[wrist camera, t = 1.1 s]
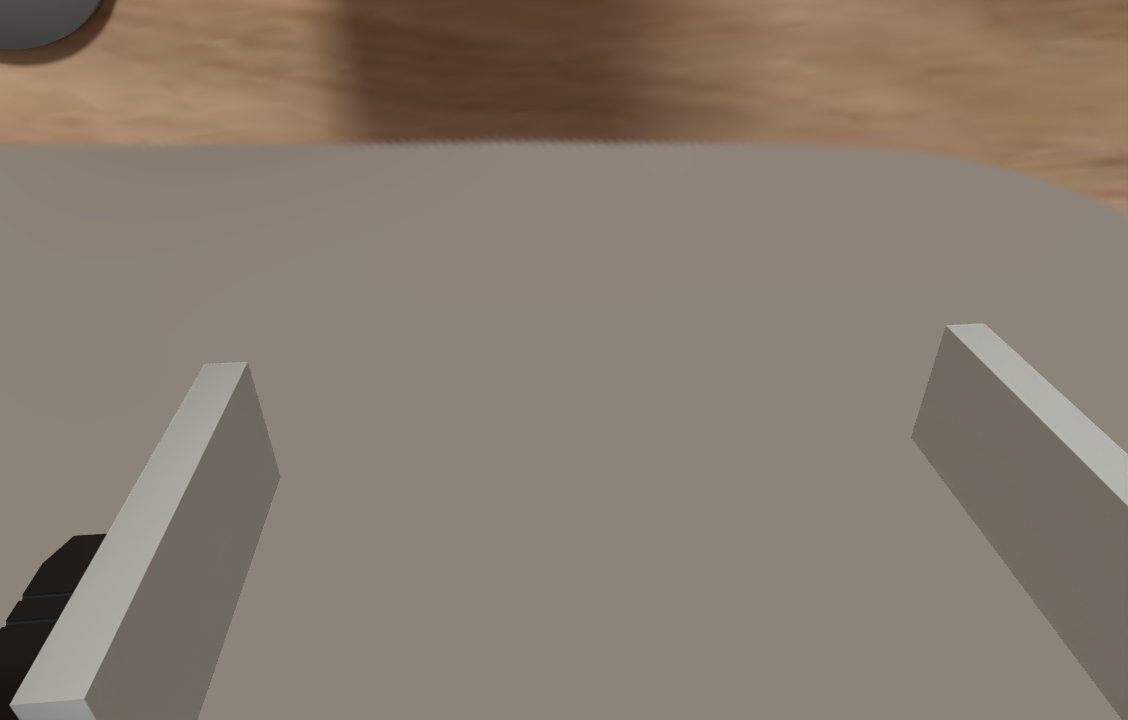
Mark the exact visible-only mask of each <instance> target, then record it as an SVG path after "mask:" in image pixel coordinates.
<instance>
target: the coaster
mask: <svg viewBox="0 0 1128 720" xmlns="http://www.w3.org/2000/svg"><path fill="white" fill-rule="evenodd" d="M102 2H103V0H0V49H2V50H20V49H30V48H35V47H39V46H44V45H47V44H49V43H52V42H54V41H57V40H60V39H62V38H65V37H67V36H68V35H70V34H72V33H73V32H75V31H77V30H78V29H80V28H81V27H82V26H83V25H84V24H85V23H86V22H88V21H89V20H90V19H91V17H92V16H93V15H94V14H95V12H96V11H97V10H98V9H99V7H100V5H101V4H102Z"/></svg>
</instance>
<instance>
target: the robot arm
mask: <svg viewBox="0 0 1128 720" xmlns="http://www.w3.org/2000/svg"><path fill="white" fill-rule="evenodd" d="M911 438H912V439H913V441H914V442H915V443H916V445H917V446H918V447H919V449H920V450H921V451H922V453H923V454H924V455H925V457H926V458H927V459H928V461H929V462H930V463H931V465H932V466H933V467H934V469H935V470H936V471H937V473H938V474H939V475H940V477H941V478H942V479H943V481H944V482H945V483H946V485H947V486H948V487H949V489H950V490H951V491H952V493H953V494H954V495H955V497H956V498H957V499H958V501H959V502H960V504H961V505H962V506H963V508H964V509H965V510H966V511H967V513H968V514H969V516H970V517H971V518H972V520H973V521H974V522H975V524H976V525H977V526H978V528H979V529H980V530H981V531H982V533H983V534H984V535H985V537H986V538H987V540H988V541H989V542H990V544H991V545H992V546H993V548H994V549H995V550H996V551H997V553H998V554H999V556H1000V557H1001V558H1002V560H1003V561H1004V562H1005V564H1006V565H1007V566H1008V568H1009V569H1010V570H1011V572H1012V573H1013V574H1014V576H1015V577H1016V578H1017V580H1018V581H1019V582H1020V584H1021V585H1022V586H1023V588H1024V589H1025V590H1026V592H1027V593H1028V594H1029V596H1030V597H1031V599H1032V600H1033V601H1034V603H1035V604H1036V605H1037V606H1038V608H1039V609H1040V611H1041V612H1042V613H1043V614H1044V616H1045V617H1046V619H1047V620H1048V621H1049V623H1050V624H1051V625H1052V627H1053V628H1054V629H1055V630H1056V632H1057V633H1058V635H1059V636H1060V637H1061V639H1062V640H1063V641H1064V643H1065V644H1066V645H1067V647H1068V648H1069V649H1070V651H1071V652H1072V653H1073V655H1074V656H1075V657H1076V659H1077V660H1078V661H1079V663H1080V664H1081V665H1082V667H1083V668H1084V669H1085V671H1086V672H1087V673H1088V675H1089V676H1090V677H1091V679H1092V680H1093V681H1094V683H1095V684H1096V685H1097V687H1098V688H1099V689H1100V691H1101V692H1102V693H1103V695H1104V696H1105V698H1106V699H1107V700H1108V702H1109V703H1110V704H1111V706H1112V707H1113V708H1114V710H1115V711H1116V712H1117V714H1118V715H1119V716H1120V717H1121V719H1122V720H1128V454H1127V453H1125V452H1124V451H1123V450H1122V449H1121V448H1120V447H1119V446H1118V445H1117V444H1116V443H1114V442H1113V441H1112V440H1111V439H1110V438H1109V437H1108V436H1107V435H1106V434H1105V433H1104V432H1102V431H1101V430H1100V429H1099V428H1098V427H1097V426H1096V425H1095V424H1094V423H1092V422H1091V421H1090V420H1089V419H1088V418H1087V417H1086V416H1085V415H1084V414H1083V413H1082V412H1081V411H1079V410H1078V409H1077V408H1076V407H1075V406H1074V405H1073V404H1072V403H1071V402H1069V401H1068V400H1067V399H1066V398H1065V397H1064V396H1063V395H1062V394H1061V393H1060V392H1059V391H1057V390H1056V389H1055V388H1054V387H1053V386H1052V385H1051V384H1050V383H1049V382H1048V381H1047V380H1045V379H1044V378H1043V377H1042V376H1041V375H1040V374H1039V373H1038V372H1037V371H1036V370H1034V369H1033V368H1032V367H1031V366H1030V365H1029V364H1028V363H1027V362H1026V361H1025V360H1024V359H1022V358H1021V357H1020V356H1019V355H1018V354H1017V353H1016V352H1015V351H1014V350H1013V349H1011V348H1010V347H1009V346H1008V345H1007V344H1006V343H1005V342H1004V341H1003V340H1002V339H1000V338H999V337H998V336H997V335H996V334H995V333H994V332H993V331H992V330H991V329H990V328H988V327H987V326H986V325H985V324H964V325H946V327H945V330H944V333H943V337H942V340H941V343H940V346H939V349H938V353H937V356H936V359H935V362H934V365H933V368H932V372H931V375H930V378H929V381H928V385H927V388H926V391H925V394H924V398H923V401H922V404H921V407H920V410H919V414H918V416H917V420H916V423H915V426H914V429H913V433H912V436H911ZM279 479H280V474H279V470H278V467H277V463H276V460H275V456H274V453H273V449H272V446H271V442H270V439H269V435H268V431H267V428H266V424H265V421H264V418H263V414H262V411H261V407H260V403H259V400H258V396H257V393H256V389H255V386H254V383H253V379H252V375H251V372H250V368H249V364H248V362H232V363H215V364H214V363H212V364H204V365H203V367H202V369H201V371H200V372H199V374H198V376H197V377H196V379H195V381H194V383H193V384H192V386H191V388H190V390H189V391H188V393H187V395H186V397H185V399H184V400H183V402H182V404H181V405H180V407H179V409H178V411H177V412H176V414H175V416H174V418H173V420H172V421H171V423H170V425H169V427H168V428H167V430H166V432H165V434H164V435H163V437H162V439H161V440H160V442H159V444H158V446H157V447H156V449H155V451H154V453H153V454H152V456H151V458H150V460H149V461H148V463H147V465H146V467H145V468H144V470H143V472H142V474H141V475H140V477H139V479H138V481H137V482H136V484H135V486H134V488H133V490H132V491H131V493H130V495H129V497H128V498H127V500H126V502H125V503H124V505H123V507H122V509H121V511H120V512H119V514H118V516H117V518H116V519H115V521H114V523H113V525H112V526H111V528H110V530H109V531H108V533H107V534H95V535H82V536H81V535H79V536H73V537H72V538H71V539H70V540H69V541H68V542H67V543H65V544H64V545H63V546H62V547H61V548H60V549H59V550H58V551H56V552H55V553H54V554H53V555H52V556H51V557H49V558H48V559H47V560H46V561H45V562H44V563H43V564H42V565H41V567H40V568H39V570H38V571H37V573H36V575H35V576H34V578H33V579H32V581H31V582H30V584H29V585H28V587H27V589H26V590H25V592H24V593H23V599H22V601H18V603H17V604H16V606H15V607H14V609H13V610H12V612H11V613H10V615H9V617H8V618H7V620H6V626H5V627H2V628H1V629H0V720H198V717H199V714H200V711H201V708H202V705H203V702H204V699H205V696H206V693H207V690H208V688H209V685H210V682H211V679H212V676H213V673H214V670H215V667H216V664H217V661H218V658H219V655H220V652H221V649H222V646H223V643H224V640H225V637H226V634H227V631H228V629H229V626H230V623H231V620H232V617H233V614H234V611H235V608H236V605H237V602H238V599H239V596H240V593H241V590H242V588H243V585H244V582H245V579H246V576H247V573H248V570H249V567H250V564H251V561H252V558H253V555H254V552H255V549H256V546H257V543H258V540H259V538H260V534H261V532H262V529H263V526H264V523H265V520H266V517H267V514H268V511H269V508H270V505H271V502H272V499H273V496H274V493H275V490H276V488H277V484H278V481H279Z"/></svg>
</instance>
